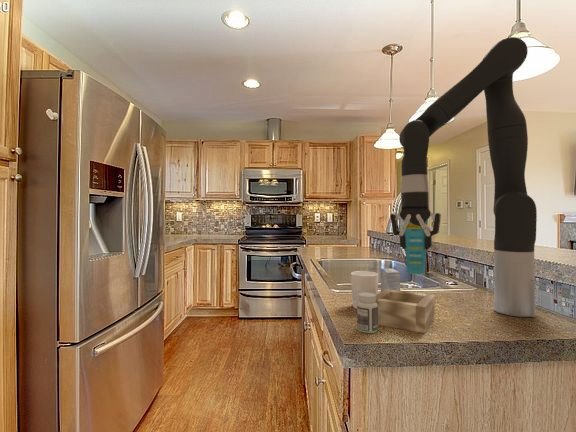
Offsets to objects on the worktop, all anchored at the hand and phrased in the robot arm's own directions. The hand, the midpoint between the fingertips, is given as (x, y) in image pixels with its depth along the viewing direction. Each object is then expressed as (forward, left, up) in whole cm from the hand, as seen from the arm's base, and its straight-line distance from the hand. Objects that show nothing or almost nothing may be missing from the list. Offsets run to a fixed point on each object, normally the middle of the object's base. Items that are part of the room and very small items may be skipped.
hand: (415, 248), depth 95 cm
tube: (0, 0, -7) cm, 7 cm away
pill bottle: (+5, +26, -17) cm, 31 cm away
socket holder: (0, +14, -17) cm, 22 cm away
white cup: (+13, +8, -17) cm, 23 cm away
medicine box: (+10, -10, -17) cm, 23 cm away
